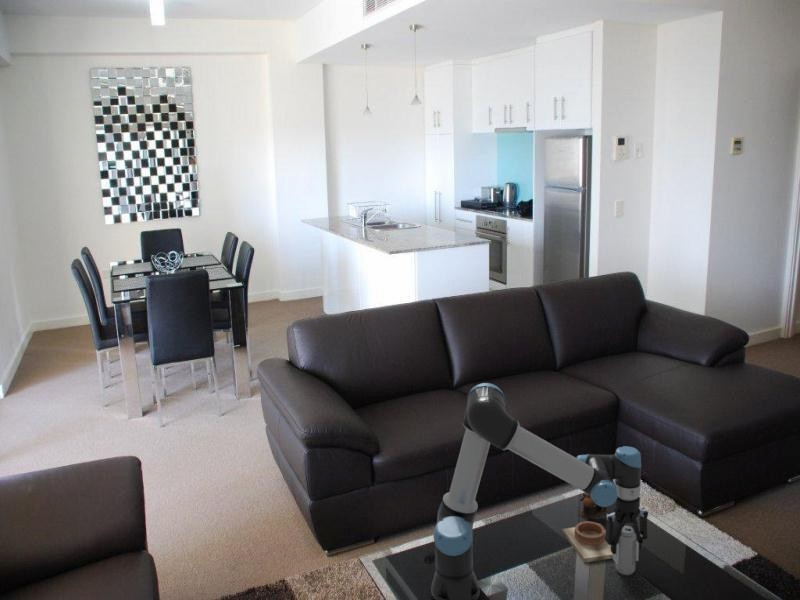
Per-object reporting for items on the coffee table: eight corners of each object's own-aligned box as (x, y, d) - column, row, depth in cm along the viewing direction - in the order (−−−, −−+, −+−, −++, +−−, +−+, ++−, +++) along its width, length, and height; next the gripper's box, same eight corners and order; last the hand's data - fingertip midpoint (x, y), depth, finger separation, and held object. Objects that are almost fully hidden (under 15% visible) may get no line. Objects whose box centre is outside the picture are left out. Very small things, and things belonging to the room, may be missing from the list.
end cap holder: (584, 562, 227) (584, 550, 226) (562, 532, 245) (562, 521, 244) (623, 556, 229) (624, 544, 228) (599, 527, 247) (600, 516, 246)
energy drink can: (616, 563, 226) (617, 522, 222) (635, 566, 224) (636, 525, 220) (614, 574, 221) (615, 532, 217) (634, 577, 218) (635, 535, 215)
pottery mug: (572, 514, 257) (575, 491, 259) (589, 517, 261) (593, 495, 263) (596, 520, 247) (600, 496, 249) (614, 523, 251) (617, 500, 253)
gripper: (604, 505, 211) (603, 571, 216) (661, 497, 214) (658, 562, 219) (593, 493, 218) (592, 557, 224) (649, 485, 221) (646, 549, 226)
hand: (625, 559), depth 221 cm, fingers closed on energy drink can, 6 cm apart
